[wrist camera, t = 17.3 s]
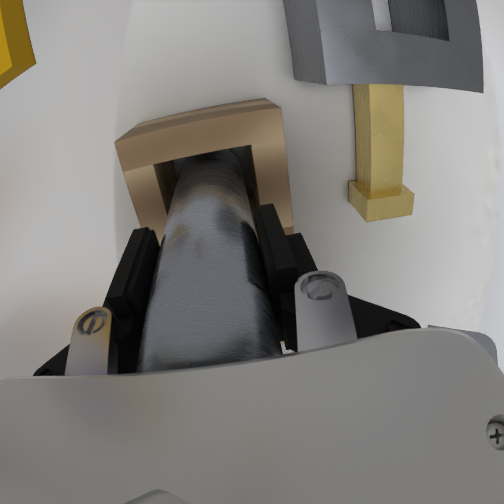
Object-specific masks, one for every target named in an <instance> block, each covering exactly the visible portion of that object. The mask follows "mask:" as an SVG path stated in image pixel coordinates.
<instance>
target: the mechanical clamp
mask: <svg viewBox="0 0 504 504" xmlns="http://www.w3.org/2000/svg"><path fill="white" fill-rule="evenodd" d="M35 64H36V60H35V56H34V52H33V48H32V44H31V40H30V36H29V31H28V26H27V22H26V17H25V12H24V6H23V0H0V89H1V88H3V87H4V86H5V85H6V84H8V83H9V82H10V81H12V80H13V79H14V78H16V77H17V76H19V75H20V74H22V73H23V72H25V71H26V70H27V69H29V68H30V67H32V66H33V65H35Z"/></svg>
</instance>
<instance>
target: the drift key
mask: <svg viewBox="0 0 504 504" xmlns="http://www.w3.org/2000/svg"><path fill="white" fill-rule="evenodd" d="M353 94H354V110H355V130H356V180H355V181H349V202H350V203H351V204H352V206H353V207H354V208H355V209H356V210H357V211H358V213H359V214H360V215H361V216H362V217H363V219H364V220H365V221H366V222H371V221H377V220H383V219H389V218H395V217H401V216H407V215H412V210H413V202H414V193H413V192H412V191H410V190H409V189H408V188H407V187H405V186H404V185H403V184H402V170H403V145H404V102H403V85H392V84H353Z"/></svg>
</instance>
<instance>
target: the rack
mask: <svg viewBox="0 0 504 504" xmlns="http://www.w3.org/2000/svg"><path fill="white" fill-rule="evenodd" d="M114 143H115V146H116V150H117V154H118V157H119V160H120V164H121V167H122V171H123V174H124V177H125V180H126V184H127V187H128V190H129V193H130V196H131V199H132V202H133V205H134V208H135V211H136V214H137V217H138V220H139V223H140V226H141V228H144V227H148V228H149V229H150V230H154V231H155V233H156V236H157V239H158V242H159V245H161V241H162V237H163V233H164V229H165V225H166V221H167V217H168V213H169V210H170V206H171V202H172V198H173V195H174V191H175V188H176V184H177V177H176V173H175V169H174V165H173V161H172V160H174V159H179V158H183V157H188V156H193V155H197V154H202V153H207V152H213V151H218V150H223V149H229V148H234V147H240V146H246V148H247V154H248V160H249V167H250V173H251V180H252V186H253V193H254V195H249V196H248V200H249V205H250V209H251V214H252V218H253V222H254V227H255V231H256V236H257V230H256V224H255V218H254V210H258V209H259V205H265V204H271V203H273V204H274V207H275V209H276V212H277V214H278V217H279V219H280V222H281V225H282V227H283V230H284V232H285V235H291V234H294V231H293V219H292V208H291V197H290V186H289V176H288V167H287V157H286V148H285V139H284V131H283V122H282V114H281V108H280V107H279V106H277V105H276V104H274V103H272V102H271V101H269V100H267V99H266V98H263V99H255V100H248V101H242V102H236V103H230V104H224V105H218V106H213V107H208V108H203V109H198V110H193V111H188V112H184V113H179V114H175V115H171V116H167V117H163V118H159V119H155V120H151V121H147V122H143V123H140V124H138V125H136V126H135V127H134V128H132V129H131V130H130V131H128V132H127V133H126V134H124V135H123V136H122V137H121V138H119V139H118V140H117V141H115V142H114ZM257 240H258V237H257ZM258 244H259V243H258ZM280 343H284V341H282V342H280Z"/></svg>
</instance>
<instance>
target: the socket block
mask: <svg viewBox="0 0 504 504" xmlns="http://www.w3.org/2000/svg"><path fill="white" fill-rule="evenodd" d="M283 2H284V8H285V14H286V20H287V26H288V33H289V39H290V46H291V53H292V61H293V68H294V76H295V80H301V81H307V82H313V83H318V84H324V85H343V84H392V85H414V86H428V87H439V88H449V89H457V90H465V91H472V92H479V93H483V57H482V43H481V33H480V24H479V16H478V10H477V4H476V0H388V2H389V8H390V15H391V22H392V30H393V32H387V31H377V30H376V29H375V22H374V15H373V8H372V2H371V0H283Z"/></svg>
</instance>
